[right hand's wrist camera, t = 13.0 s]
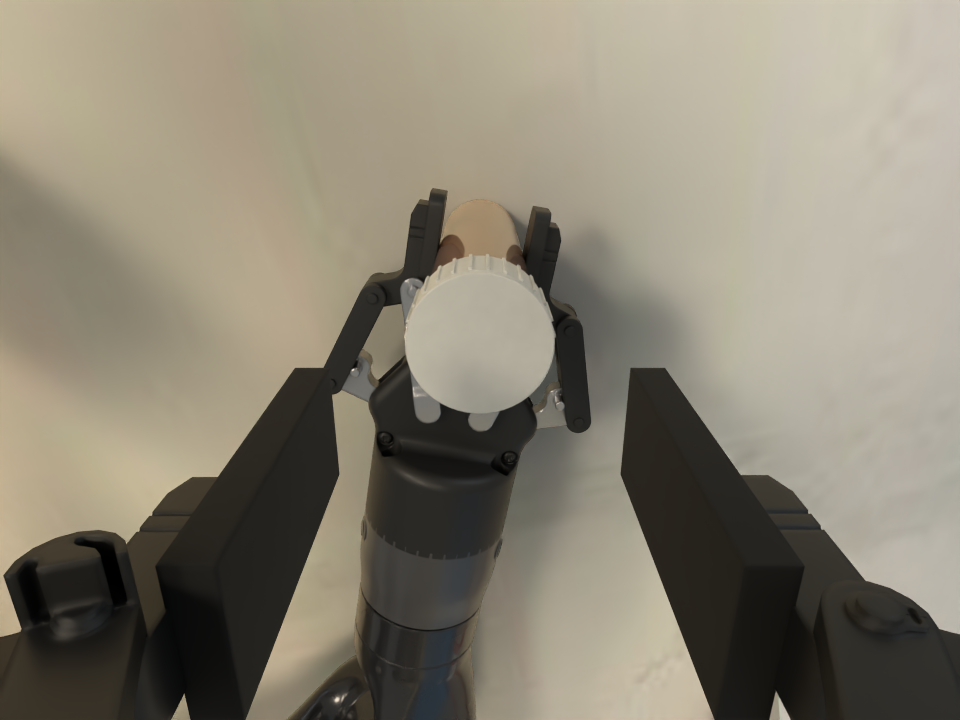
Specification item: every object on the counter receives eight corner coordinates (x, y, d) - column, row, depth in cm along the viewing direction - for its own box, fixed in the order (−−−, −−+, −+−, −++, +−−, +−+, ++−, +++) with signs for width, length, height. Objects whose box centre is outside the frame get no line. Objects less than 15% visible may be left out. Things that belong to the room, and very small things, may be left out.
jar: (442, 269, 36) (413, 397, 20) (444, 197, 35) (415, 274, 19) (513, 272, 36) (539, 403, 20) (518, 201, 35) (550, 281, 19)
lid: (409, 382, 22) (401, 413, 20) (410, 249, 20) (402, 266, 18) (542, 388, 22) (550, 419, 20) (555, 256, 21) (564, 274, 18)
